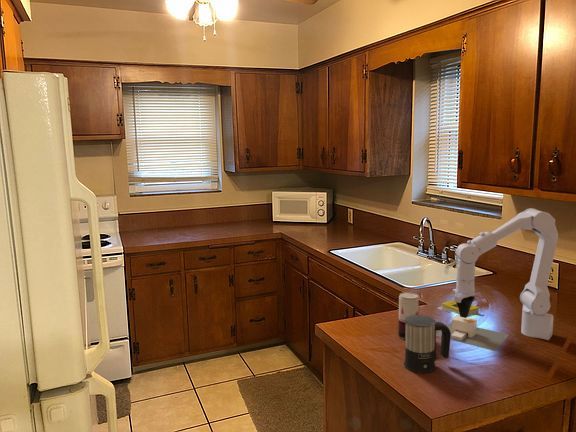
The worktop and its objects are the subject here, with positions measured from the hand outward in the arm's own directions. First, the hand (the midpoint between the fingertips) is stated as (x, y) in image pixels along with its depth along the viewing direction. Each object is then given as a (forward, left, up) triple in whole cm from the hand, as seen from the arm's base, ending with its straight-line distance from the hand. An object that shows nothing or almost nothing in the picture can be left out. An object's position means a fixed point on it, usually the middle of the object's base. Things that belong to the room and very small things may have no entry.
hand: (463, 316), depth 162 cm
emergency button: (+9, -23, -8) cm, 26 cm away
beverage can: (+15, +12, -7) cm, 21 cm away
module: (0, 0, -6) cm, 6 cm away
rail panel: (-3, 0, -7) cm, 8 cm away
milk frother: (+4, +27, -7) cm, 28 cm away
